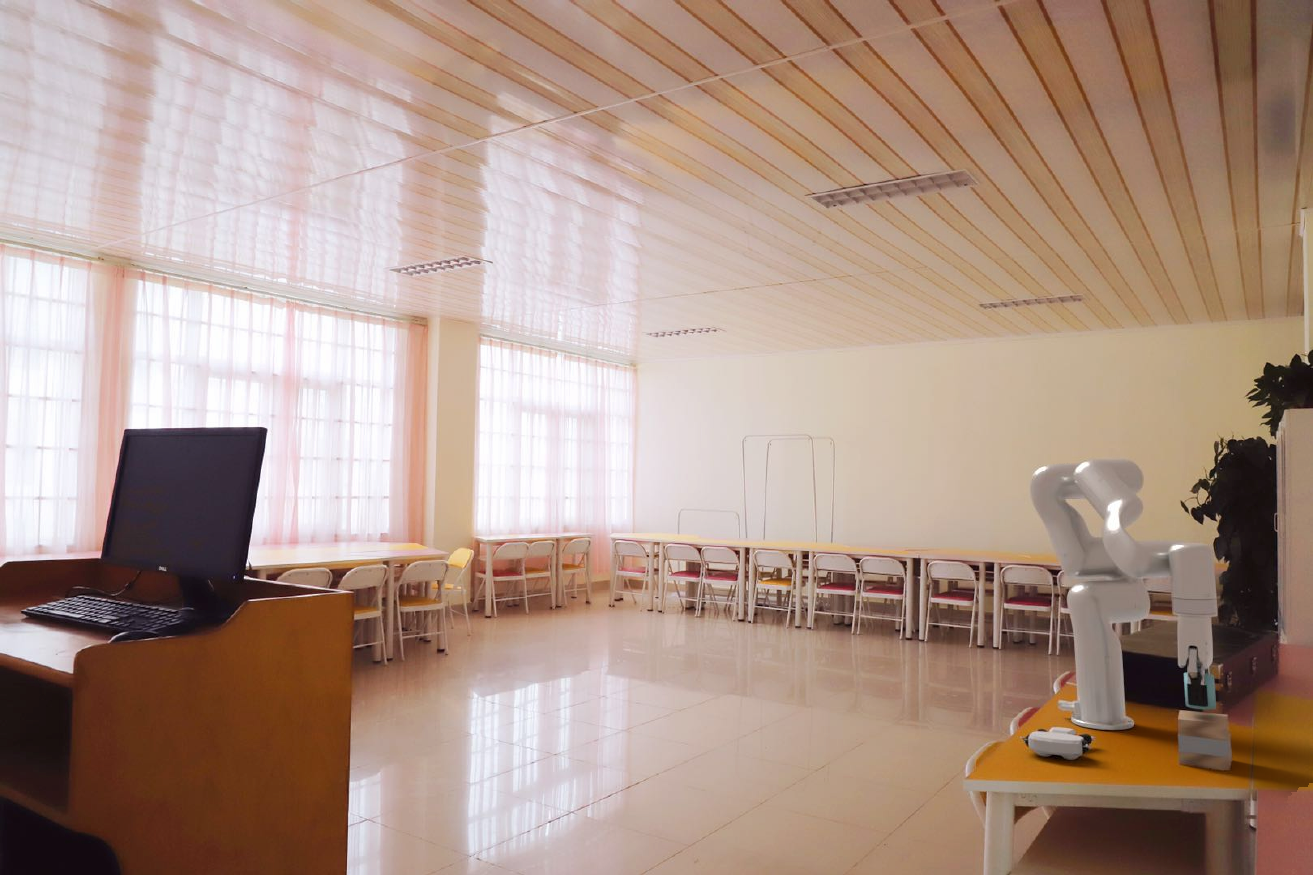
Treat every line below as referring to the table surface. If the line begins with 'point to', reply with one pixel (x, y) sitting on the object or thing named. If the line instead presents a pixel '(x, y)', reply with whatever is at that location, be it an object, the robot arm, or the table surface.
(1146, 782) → the table surface
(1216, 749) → the slab middle
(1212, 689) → the teal open box
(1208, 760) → the slab bottom
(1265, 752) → the table surface
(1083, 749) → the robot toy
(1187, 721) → the slab top
